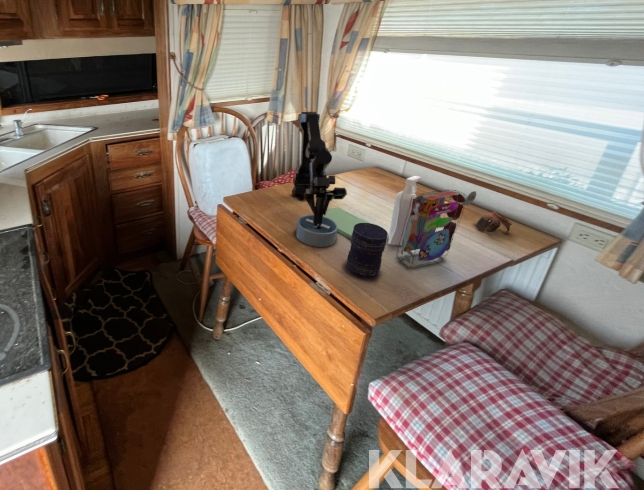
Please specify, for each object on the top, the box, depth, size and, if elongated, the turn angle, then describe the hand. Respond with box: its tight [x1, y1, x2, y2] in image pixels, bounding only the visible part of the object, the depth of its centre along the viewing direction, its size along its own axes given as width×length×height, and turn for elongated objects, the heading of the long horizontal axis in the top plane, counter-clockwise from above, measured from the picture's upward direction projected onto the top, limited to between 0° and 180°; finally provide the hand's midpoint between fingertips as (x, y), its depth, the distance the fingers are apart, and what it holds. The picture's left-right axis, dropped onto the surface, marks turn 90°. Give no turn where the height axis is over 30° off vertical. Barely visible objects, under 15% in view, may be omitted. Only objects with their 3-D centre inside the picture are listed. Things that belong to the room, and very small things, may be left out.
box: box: [395, 189, 477, 269], centre depth 117 cm, size 25×6×24 cm, turn 108°
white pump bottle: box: [387, 175, 422, 247], centre depth 126 cm, size 7×12×25 cm, turn 126°
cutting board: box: [323, 206, 370, 240], centre depth 143 cm, size 20×14×2 cm
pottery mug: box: [475, 210, 513, 234], centre depth 136 cm, size 12×10×8 cm
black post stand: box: [305, 194, 330, 229], centre depth 131 cm, size 9×8×13 cm
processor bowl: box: [295, 214, 338, 248], centre depth 134 cm, size 14×14×6 cm
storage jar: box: [345, 222, 389, 281], centre depth 113 cm, size 10×10×18 cm
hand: (319, 214), depth 130 cm, fingers closed on black post stand, 3 cm apart
